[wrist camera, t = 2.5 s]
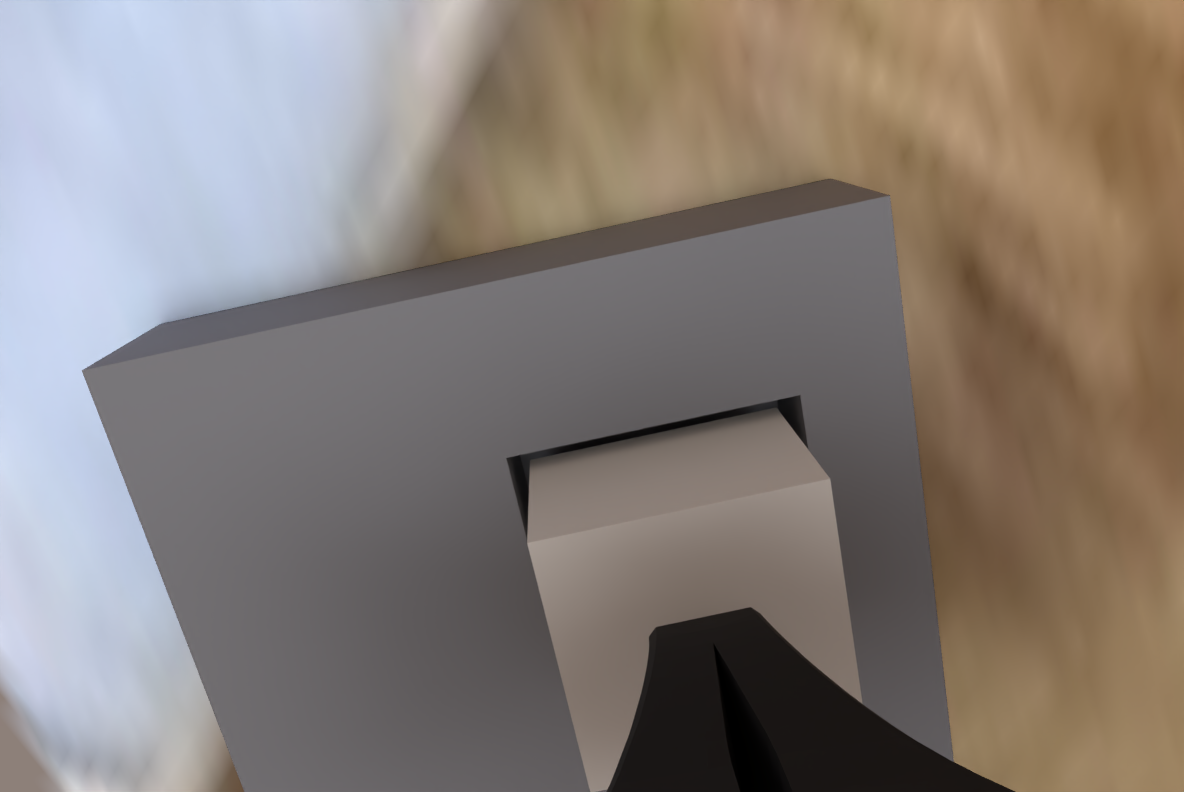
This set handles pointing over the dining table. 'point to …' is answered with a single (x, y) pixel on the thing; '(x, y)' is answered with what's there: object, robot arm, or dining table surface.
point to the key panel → (502, 476)
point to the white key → (681, 558)
